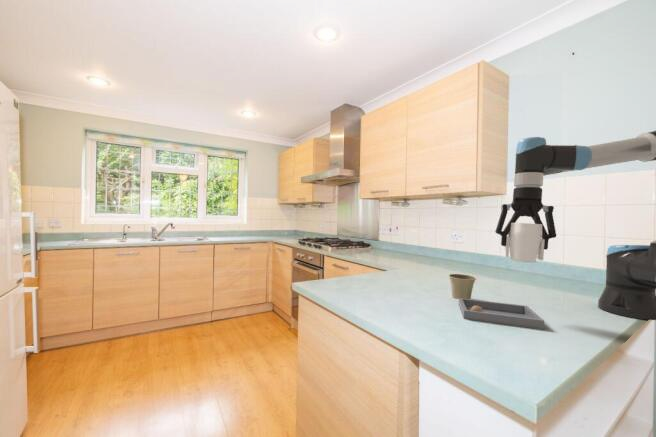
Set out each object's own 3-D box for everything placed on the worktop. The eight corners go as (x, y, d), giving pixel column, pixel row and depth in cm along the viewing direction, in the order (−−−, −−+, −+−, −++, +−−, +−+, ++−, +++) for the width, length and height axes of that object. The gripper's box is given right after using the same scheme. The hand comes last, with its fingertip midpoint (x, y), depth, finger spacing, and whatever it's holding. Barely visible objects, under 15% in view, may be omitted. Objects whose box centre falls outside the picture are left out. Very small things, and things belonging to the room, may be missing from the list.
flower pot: (480, 303, 102) (481, 279, 101) (454, 302, 102) (455, 278, 102) (467, 296, 111) (468, 274, 111) (443, 295, 111) (444, 273, 111)
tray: (526, 315, 90) (526, 305, 90) (543, 331, 77) (544, 320, 77) (458, 306, 97) (458, 297, 97) (463, 320, 84) (463, 310, 84)
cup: (529, 259, 94) (532, 223, 94) (547, 264, 85) (550, 224, 85) (500, 257, 95) (503, 222, 95) (515, 261, 86) (518, 222, 86)
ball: (482, 316, 86) (482, 304, 86) (484, 320, 83) (484, 308, 83) (469, 314, 88) (470, 303, 88) (471, 318, 84) (471, 306, 84)
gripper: (563, 189, 89) (558, 260, 90) (487, 188, 97) (483, 253, 97) (574, 186, 82) (569, 263, 83) (491, 185, 90) (487, 255, 90)
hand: (522, 257), depth 90 cm, fingers closed on cup, 9 cm apart
